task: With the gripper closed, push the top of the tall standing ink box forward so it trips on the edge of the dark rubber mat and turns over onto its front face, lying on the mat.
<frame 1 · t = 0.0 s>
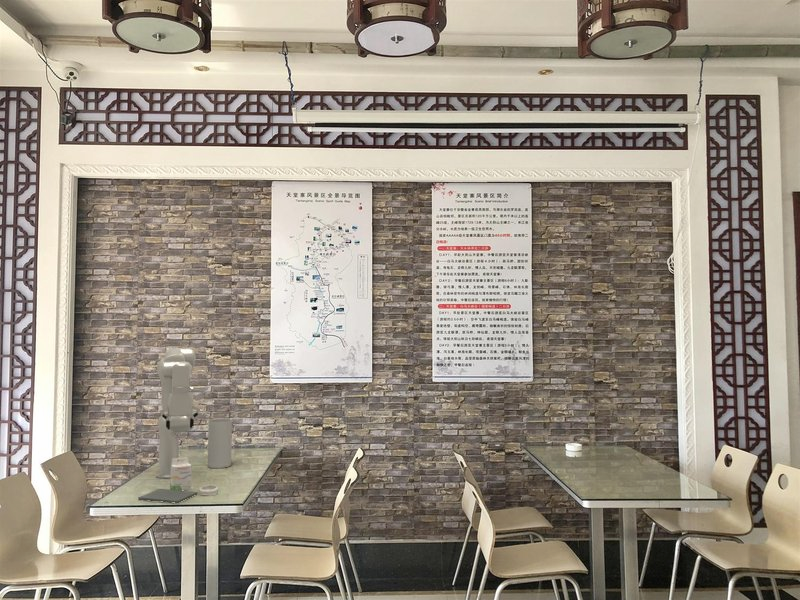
hand: (179, 428, 275), 31 cm above the table, tool pointing down, fingers open, 9 cm apart
ink box: (180, 490, 288), on the table
rubber mat: (168, 497, 275), on the table
white ashtray dish: (208, 493, 282), on the table
cylinder vase: (219, 466, 336), on the table
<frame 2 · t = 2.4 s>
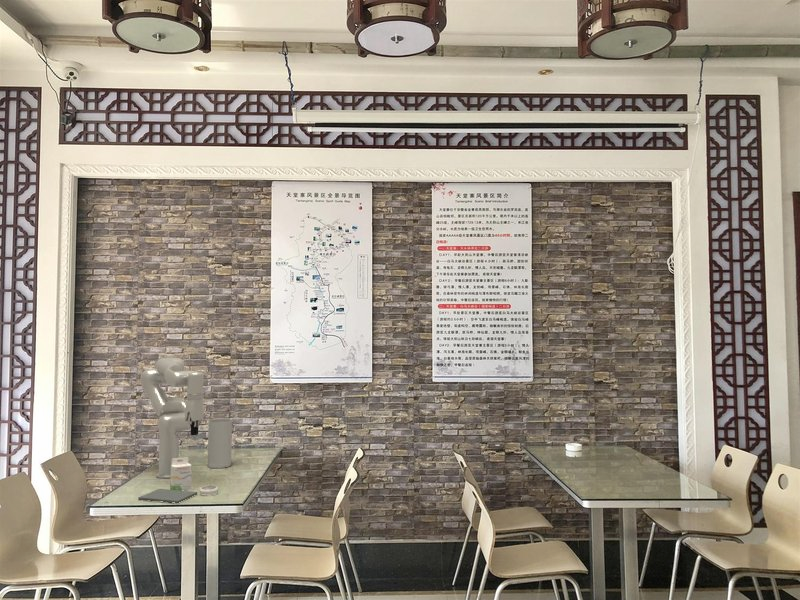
hand: (194, 434, 298), 24 cm above the table, tool pointing down, fingers closed
nothing on the table moved.
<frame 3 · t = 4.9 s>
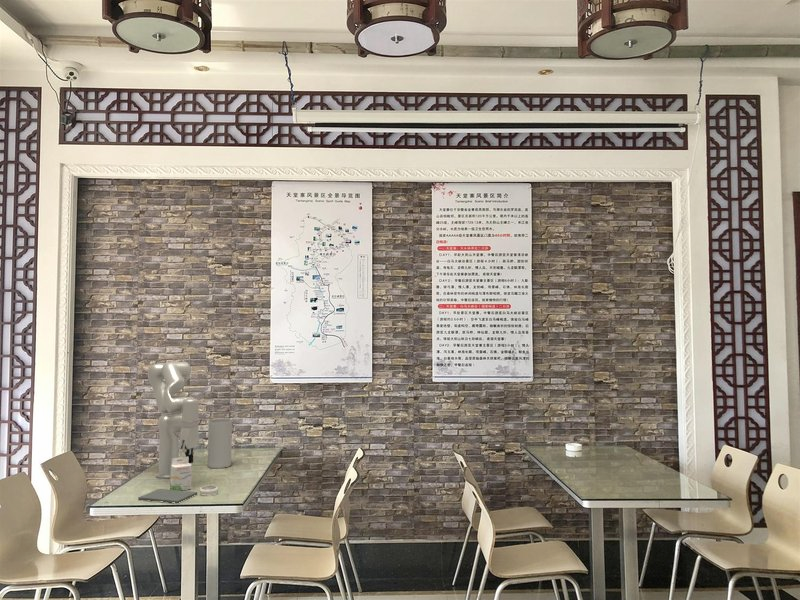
hand: (189, 462, 294), 11 cm above the table, tool pointing down, fingers closed
ink box: (180, 489, 288), on the table, touching gripper
everything else where it was.
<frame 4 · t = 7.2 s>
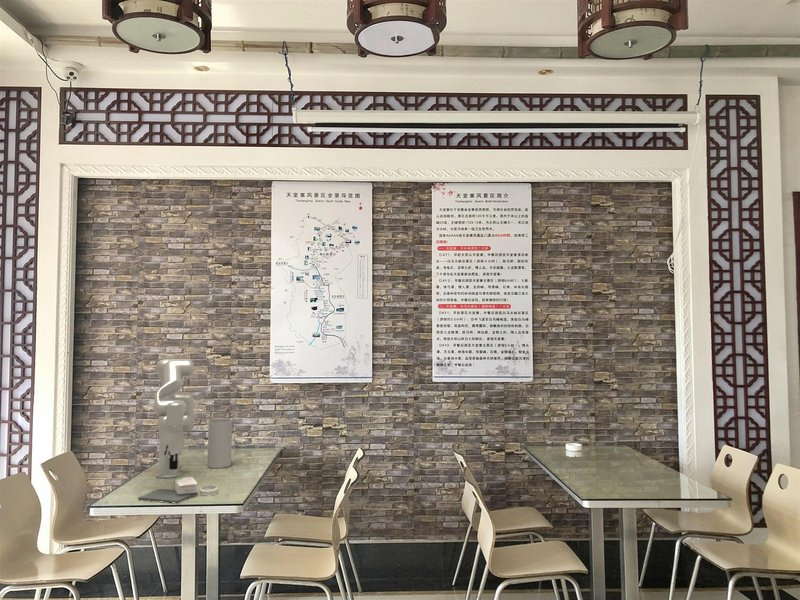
hand: (173, 468, 282), 11 cm above the table, tool pointing down, fingers closed
ink box: (183, 482, 287), point 4 cm above the table, touching rubber mat
everything else where it was.
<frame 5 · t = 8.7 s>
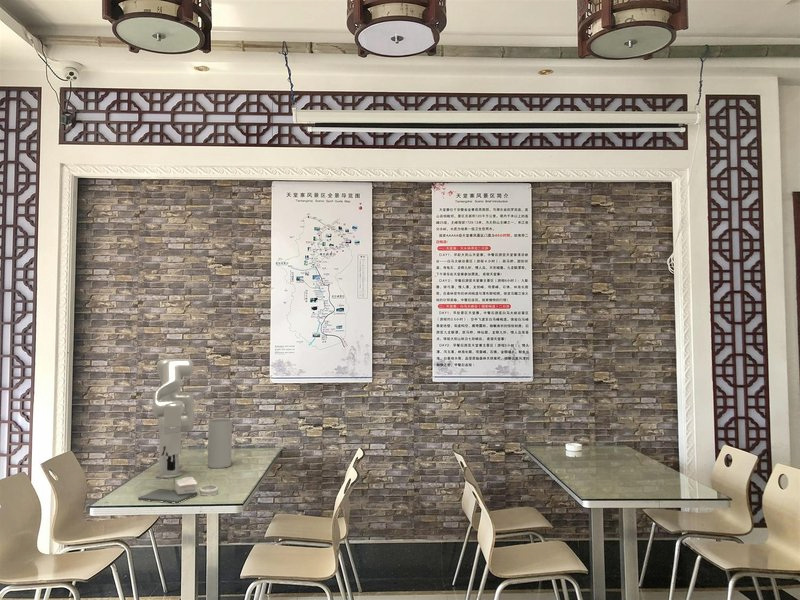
hand: (171, 470, 280), 11 cm above the table, tool pointing down, fingers closed
nothing on the table moved.
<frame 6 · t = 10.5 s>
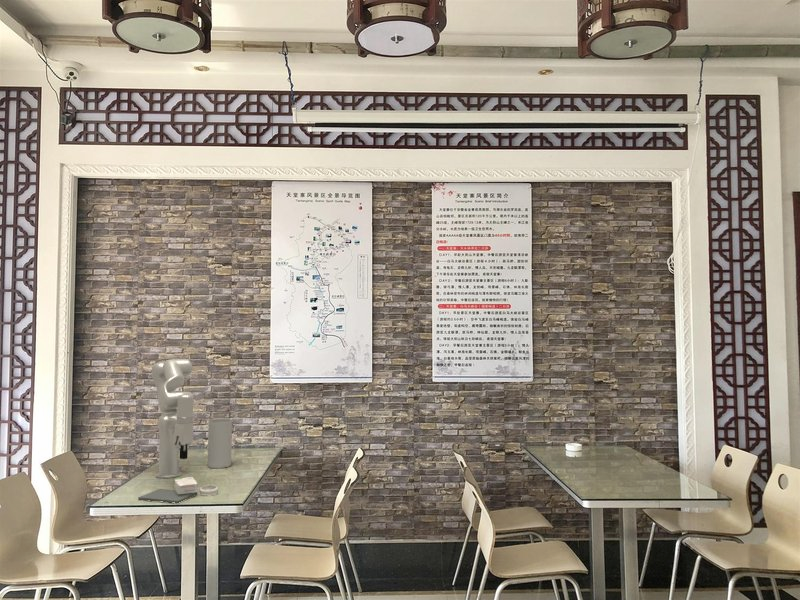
hand: (183, 458, 291), 14 cm above the table, tool pointing down, fingers closed
nothing on the table moved.
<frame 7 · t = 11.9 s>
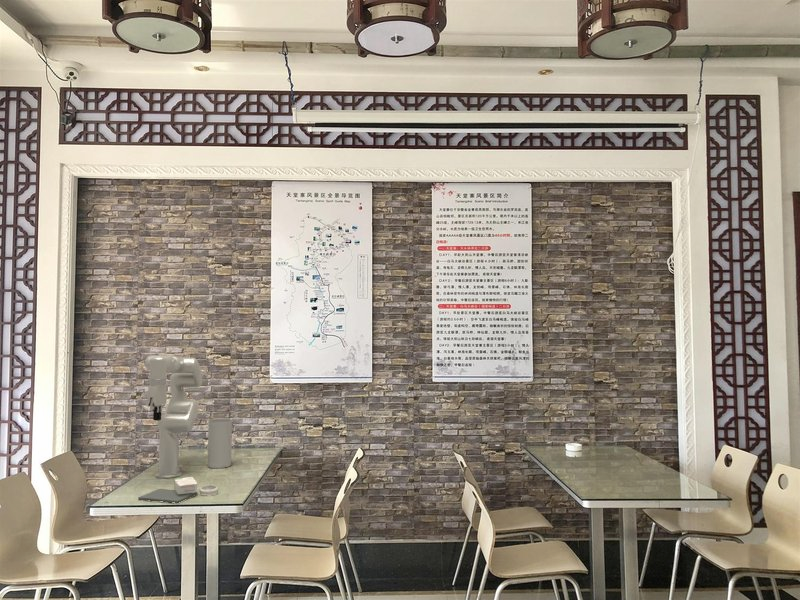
hand: (157, 420, 296), 32 cm above the table, tool pointing down, fingers closed
nothing on the table moved.
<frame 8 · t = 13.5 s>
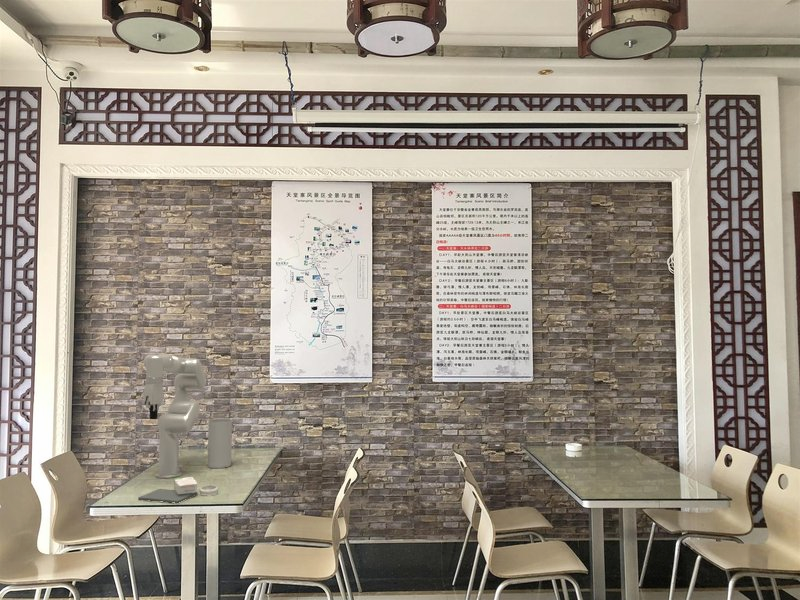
hand: (153, 418, 296), 32 cm above the table, tool pointing down, fingers closed
nothing on the table moved.
at the end: ink box tilted 89°; ink box inside the target area (4.5 cm from its centre), point 3.5 cm above the table; ink box touching rubber mat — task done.
